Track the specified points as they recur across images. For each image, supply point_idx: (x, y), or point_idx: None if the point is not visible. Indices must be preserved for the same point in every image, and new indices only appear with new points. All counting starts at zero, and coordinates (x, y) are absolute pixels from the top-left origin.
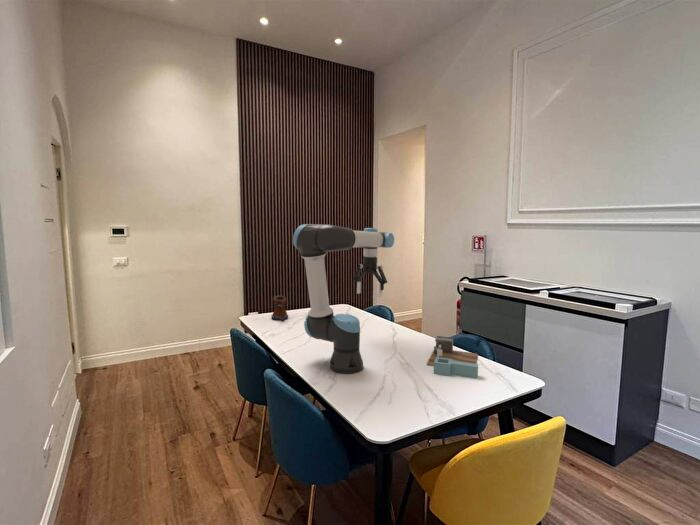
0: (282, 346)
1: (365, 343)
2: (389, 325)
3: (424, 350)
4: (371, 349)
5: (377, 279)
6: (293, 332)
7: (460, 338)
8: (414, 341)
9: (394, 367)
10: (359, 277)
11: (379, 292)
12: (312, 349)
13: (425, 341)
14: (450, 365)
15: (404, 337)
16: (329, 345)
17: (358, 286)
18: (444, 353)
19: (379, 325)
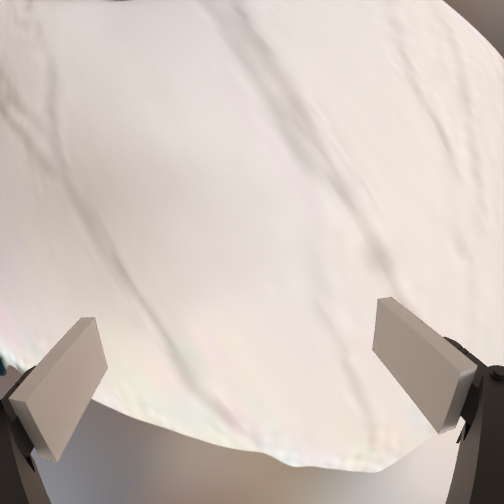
0: (426, 7)
1: (210, 180)
2: (264, 439)
3: (8, 255)
4: (146, 130)
5: (16, 471)
6: (498, 147)
7: None
8: None
9: (21, 57)
10: (496, 433)
11: (67, 339)
12: (339, 11)
13: None
14: None
15: (128, 351)
16: (321, 71)
17: (422, 344)
18: None
19: (297, 420)
